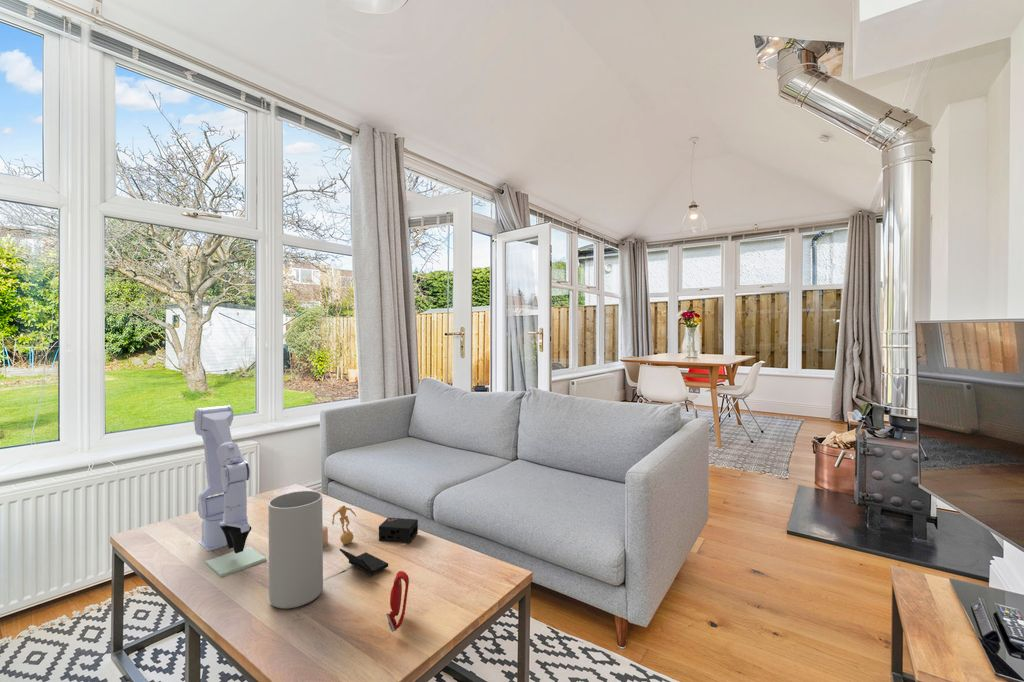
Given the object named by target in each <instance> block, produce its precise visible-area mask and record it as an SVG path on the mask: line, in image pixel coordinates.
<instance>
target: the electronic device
mask: <svg viewBox="0 0 1024 682" xmlns="http://www.w3.org/2000/svg"><path fill="white" fill-rule="evenodd" d="M418 521H419V520H418V519H417V518H416V519H415V518H399V517H387V518H386V519H385V520H384V521H382V523H380V525H379V526H378V541H379V542H392V543H407V544H408V543H409V544H410V543H411V542H412V541H413V539H414V538H415V537H416V536H417V535H418V532H419V524H418V523H419V522H418Z"/></svg>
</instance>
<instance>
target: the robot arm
mask: <svg viewBox="0 0 1024 682" xmlns="http://www.w3.org/2000/svg"><path fill="white" fill-rule="evenodd" d="M233 420H234V410H233V407H232V406H231V405H230V404H226V405H219V406H211V407H197V408H196V409H195V410H194V414H193V424H194V431H195V434H196V435H198V436H201V438H202V440H203V449H204V459H205V472H206V479H207V487H206V488H205V489H204V490H202V491H201V492H200V493H199V495H198V498H197V500H198V501H197V503H198V504H197V514H198V516H199V518H200V519H202V521H201V540H198V544H199V545H201V547H203V549H205V550H206V551H208V552H211V551H214V550H217V549H220V548H224V547H228V549H229V550H231V549H233V552H235V553H239V552H242V551H243V550H244V548H245V545H246V542H247V538H248V536H249V534H250V532H251V531H252V526H250V523H249V516H248V508H247V507H248V499H247V498H248V497H247V496H248V494H247V493H248V492H247V488H248V486H247V485H248V484H247V481H249V480H250V475H251V470H250V469H251V468H250V466H249V462H248V461H246V459H245V458H243V457H242V454H241V450H240V448H239V445H238V444H237V443H235V442H233V439H232V434H231V428H230V426H232V423H233ZM226 545H227V546H226ZM223 546H224V547H223Z"/></svg>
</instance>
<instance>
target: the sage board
mask: <svg viewBox="0 0 1024 682" xmlns="http://www.w3.org/2000/svg"><path fill="white" fill-rule="evenodd" d="M266 561H267V556H264V555H263V554H262V553H260V552H259V551H258V550H256V549H255V548H253V547H251V546H250V545H248V546H246V547H245V546H244V550H243V551H242V552H239V553H235V552H234V551H231V552H228V553H225V554H222V555H220V556H217V557H214V558H211V559H208V560H205V561H204V562H205V564H206V565H207V566H208V567H209V568H210V569H211V570H212V571H213V572H214V573H216V575H218V576H219V578H223V577H225V576H228V575H231V574H234V573H237V572H239V571H242V570H244V569H247V568H250V567H252V566H255V565H258V564H260V563H264V562H266Z"/></svg>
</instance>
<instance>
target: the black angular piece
mask: <svg viewBox="0 0 1024 682" xmlns="http://www.w3.org/2000/svg"><path fill="white" fill-rule="evenodd" d="M338 551H340V552H341V553H342V555H344V557H346V559H347V560H348V564H350V565H352V566H353V567H356V568H358V569H360V570H362V571H363V572H365V573H367V574H368V575H370V576H373V575H375V574H376V573H379V572H380V571H382V570H384V569H386V568H388V567H389V563H388V562H386V561H384V560H382V559H380V558H378V557H376V556H374V555H373V554H371V553H368V552H363V553H360V554H359V555H355V554H352V553H350V552H348V551H346V550H345V549H342V548H339V550H338Z"/></svg>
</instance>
